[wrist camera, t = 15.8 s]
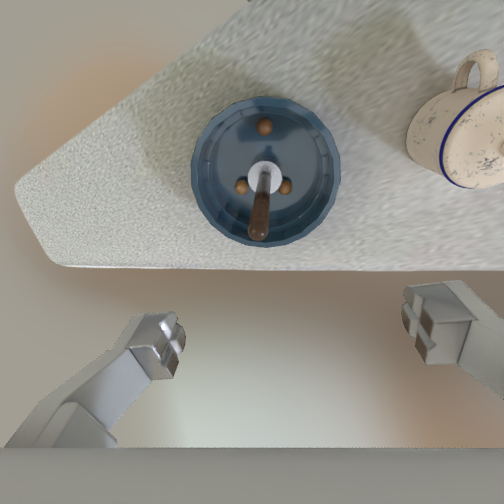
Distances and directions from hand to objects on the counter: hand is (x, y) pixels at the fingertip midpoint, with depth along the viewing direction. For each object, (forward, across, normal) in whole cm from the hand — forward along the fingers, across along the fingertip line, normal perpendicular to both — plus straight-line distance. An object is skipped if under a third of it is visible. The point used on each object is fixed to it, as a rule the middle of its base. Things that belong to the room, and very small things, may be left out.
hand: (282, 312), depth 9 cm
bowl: (+29, +2, +2) cm, 29 cm away
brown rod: (+28, +2, +2) cm, 29 cm away
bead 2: (+28, +1, -4) cm, 28 cm away
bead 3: (+28, 0, +4) cm, 28 cm away
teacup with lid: (+29, -20, 0) cm, 35 cm away
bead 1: (+28, +6, +3) cm, 28 cm away
